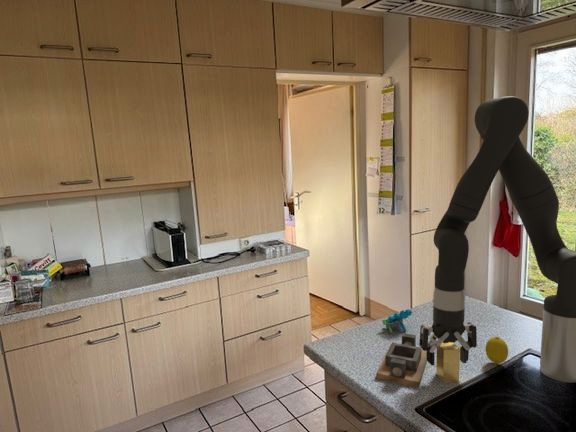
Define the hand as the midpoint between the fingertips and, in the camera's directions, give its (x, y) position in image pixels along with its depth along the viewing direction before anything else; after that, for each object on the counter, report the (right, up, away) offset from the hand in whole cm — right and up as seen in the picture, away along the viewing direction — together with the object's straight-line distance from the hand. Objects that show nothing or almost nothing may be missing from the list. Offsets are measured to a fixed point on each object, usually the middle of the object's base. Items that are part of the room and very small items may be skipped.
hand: (447, 362), depth 105 cm
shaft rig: (-9, -4, +7) cm, 12 cm away
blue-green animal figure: (-5, 0, +31) cm, 31 cm away
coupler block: (0, -4, +1) cm, 4 cm away
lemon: (+16, -3, +6) cm, 17 cm away
